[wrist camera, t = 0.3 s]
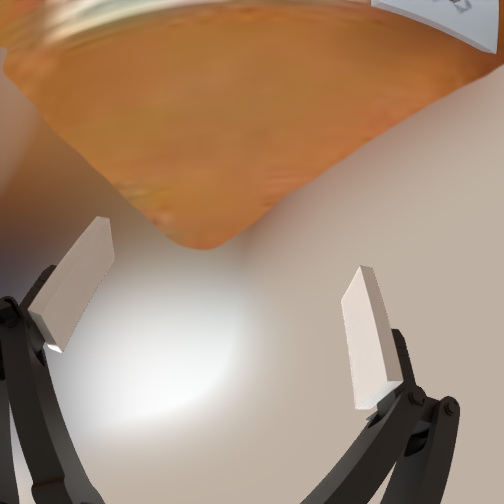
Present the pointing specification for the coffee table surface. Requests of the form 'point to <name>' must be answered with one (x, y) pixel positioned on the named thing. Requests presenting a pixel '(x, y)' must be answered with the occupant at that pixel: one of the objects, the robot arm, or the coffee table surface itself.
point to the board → (453, 18)
